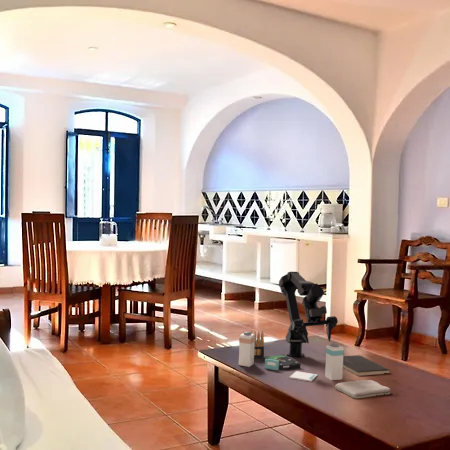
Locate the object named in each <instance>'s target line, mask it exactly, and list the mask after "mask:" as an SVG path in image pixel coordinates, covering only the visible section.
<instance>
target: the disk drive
mask: <svg viewBox="0 0 450 450" xmlns="http://www.w3.org/2000/svg"><path fill="white" fill-rule="evenodd" d="M265 359H271V360H277V361H279V370H278V371H287V370H296V369H301V368H302V365H301V363H302V362H299V361H297V360H295V359H293V358H291V357H290V356H287V355H285V354H277V355H276V354H274V355H264V358H263V362H265Z"/></svg>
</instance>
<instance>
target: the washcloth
mask: <svg viewBox="0 0 450 450" xmlns="http://www.w3.org/2000/svg"><path fill="white" fill-rule="evenodd" d="M334 388H335V390H337V391H338V392H341V393H344V394H345V395H346V396H348V397H351V398H352V399H361V398H363V399H364V398H369V397H370V398H371V397H376V395H377V396H384V394H385V395H390V394H391V388H389V387H388V386H384V385H381V383H379V382H377V381H375V380H371V379H368V380H364V379H363V380H362V379H357V380H350V381H344V382H338V383H336V384H335V386H334Z"/></svg>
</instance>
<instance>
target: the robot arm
mask: <svg viewBox="0 0 450 450" xmlns="http://www.w3.org/2000/svg"><path fill="white" fill-rule="evenodd" d="M278 287H279V288H280V292H281V293H282V294H283V295H284V297H285V300H286V305H287V312H288V317H289V321H290V325H289V326H288V329H287V330H288V331H287V333H286V335H285V342H287V343H288V344H289V351H288V353H287V354H286V356H287V357H295V358H302V357H303V356H304V355H305V353H304V352H303V344H306V343H307V344H309V343H310V342H309V331H308V328H307V327H313V326H325V327H326V329H325V330H326V336H327V340H328V342H331V337H332V330H333V329H334V328H336V326H337V325H338V323H339V320H338V318H337V316H336V315H334V316H327V317H326V319H323V316H324V315H326V314H327V313H328V312H327V311H328V310H327V307H326V305H322V306H320V308H319V306H318V303H319V302H320V300H321V299H322V297H323V296H324V293H325V290H324V289H323V288H322V287H321V286H320V285H319V284H318V283H315V282H312V281H307V280H306V279H305V278H304V277H303V276H302V275H301V274H300V273H299V271H288V272H287V273H286V274H284V275H283V276H281V277H280V279H279V281H278ZM296 292H297V293H298V294H299V296H300V297H301V296H302V297H303V296H304V298H303V299H302V302H301V304H302V305H303V308H304V312H305V315H304V316H305V317H306V320H307V321H304V320H303V318H301V317H300V316H301V315H300V310H299V307H298V301H297V296H296V295H297V294H296Z"/></svg>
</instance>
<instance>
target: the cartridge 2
mask: <svg viewBox="0 0 450 450" xmlns="http://www.w3.org/2000/svg"><path fill="white" fill-rule="evenodd" d="M344 348H345V347H343V346H342V345H340V343H338V342H331V343H330V344H326V348H325V369H324V372H325V373H324V374H325V375H324V377H325V378H327V379H329V380H330V381H340V380H343V373H344V372H343V369H344V368H343V356H345V353H344V352H345V349H344Z"/></svg>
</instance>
